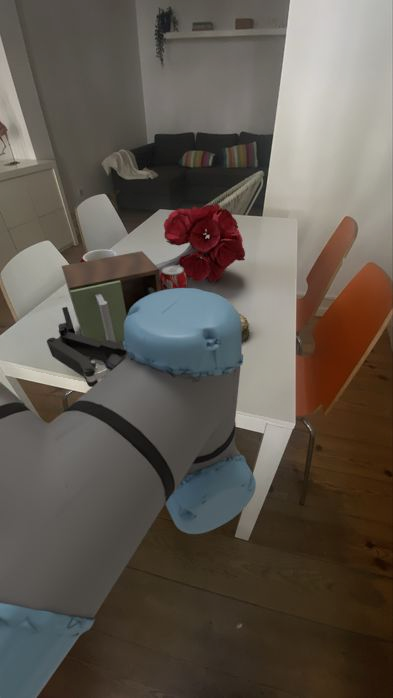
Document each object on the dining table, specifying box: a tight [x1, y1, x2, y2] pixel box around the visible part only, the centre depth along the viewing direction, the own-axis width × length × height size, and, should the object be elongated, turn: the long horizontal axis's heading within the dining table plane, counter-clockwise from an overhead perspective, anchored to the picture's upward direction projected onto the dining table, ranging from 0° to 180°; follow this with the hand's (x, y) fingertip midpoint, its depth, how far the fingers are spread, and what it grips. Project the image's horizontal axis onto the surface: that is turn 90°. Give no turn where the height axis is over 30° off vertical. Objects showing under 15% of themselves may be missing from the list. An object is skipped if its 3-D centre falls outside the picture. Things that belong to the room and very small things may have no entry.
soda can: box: [160, 265, 188, 291], centre depth 85 cm, size 7×7×12 cm
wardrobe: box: [61, 250, 161, 360], centre depth 75 cm, size 19×14×17 cm
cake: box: [239, 313, 250, 342], centre depth 78 cm, size 10×10×5 cm
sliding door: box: [70, 280, 127, 343], centre depth 67 cm, size 10×7×16 cm, turn 116°
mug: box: [79, 249, 118, 263], centre depth 90 cm, size 13×9×14 cm
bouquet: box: [155, 203, 246, 283], centre depth 97 cm, size 22×24×30 cm
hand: (110, 304), depth 51 cm, fingers open, 13 cm apart
